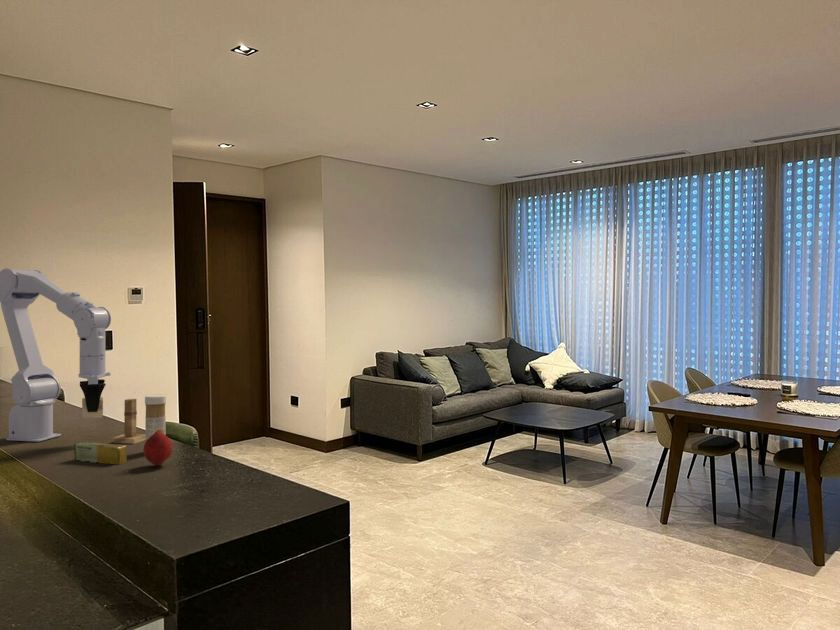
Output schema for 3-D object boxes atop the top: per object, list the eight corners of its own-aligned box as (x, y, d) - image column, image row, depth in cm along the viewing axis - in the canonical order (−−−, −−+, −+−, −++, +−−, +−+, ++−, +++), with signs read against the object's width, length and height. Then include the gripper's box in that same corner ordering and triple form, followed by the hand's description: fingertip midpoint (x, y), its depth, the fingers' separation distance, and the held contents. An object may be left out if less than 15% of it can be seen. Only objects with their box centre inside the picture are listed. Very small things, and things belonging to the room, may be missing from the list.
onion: (161, 470, 132) (162, 432, 132) (137, 468, 133) (137, 431, 133) (178, 463, 138) (178, 427, 138) (154, 462, 139) (154, 426, 139)
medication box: (73, 461, 140) (73, 443, 139) (82, 458, 142) (82, 441, 142) (119, 465, 137) (118, 447, 136) (127, 462, 139) (127, 444, 139)
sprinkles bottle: (162, 448, 152) (162, 393, 152) (168, 452, 148) (168, 395, 148) (142, 451, 149) (142, 394, 149) (148, 455, 145) (148, 397, 145)
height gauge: (112, 442, 158) (112, 400, 158) (126, 437, 164) (126, 397, 164) (134, 443, 157) (134, 401, 157) (148, 438, 163) (148, 398, 163)
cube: (82, 416, 157) (82, 398, 157) (102, 414, 159) (102, 397, 159) (82, 419, 153) (82, 400, 153) (102, 417, 155) (102, 399, 155)
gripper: (111, 357, 152) (111, 413, 152) (109, 353, 164) (109, 405, 165) (78, 358, 148) (78, 415, 148) (78, 354, 161) (78, 406, 161)
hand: (92, 410), depth 156 cm, fingers closed on cube, 4 cm apart
